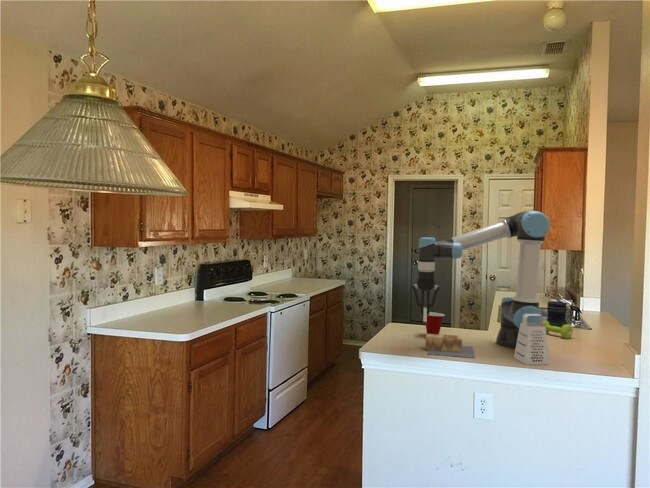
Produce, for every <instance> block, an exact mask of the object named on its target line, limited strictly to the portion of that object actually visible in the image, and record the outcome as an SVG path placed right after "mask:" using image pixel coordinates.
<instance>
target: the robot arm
mask: <svg viewBox="0 0 650 488" xmlns="http://www.w3.org/2000/svg"><path fill="white" fill-rule="evenodd" d="M550 227H551V225H550V219H549V218H548V216H547V215H546V214H544V213H543V212H540V211H538V210H530V211H529V210H528V211H520V212H518V213H515V214H513V215H510V216H509V217H508V216H507V217H506V218H502V219H501V220H500V222H497V223H493V224H491V225H488V226H484V227H481V228H478V229H475V230H472V231H469V232H465V233H462V234H460V235H456V236H453V237H449V238H446V239H442V240H439V241H437V240H436V238H435V237H428V236H427V237H425V236H424V237H419V239H418V253H417V255H418V258H417V259H418V261H417V270H418V272H417V280H416V283H415V284H413V285H411V289H412V290H413V292H414V296H415V300H416V305H417V306H418V307H420V314H421V315H423V319H422V321H423V323H425V322H427V315H429V312H430V308H433V307H434V306H435V302H436V298H437V295H438V292H439V291H440V288H441V287H440V286H439V285H437V283H436V281H435V274H436V273H435V270H436V267H435V266H436V259H453V260H454V259H460V258H461V257H462V255H463V251H465V250H469V249H471V248H475V247H478V246H481V245H485V244H487V243H491V242H494V241H497V240H501V239H504V238H506V239H511V238H514V237H516V241H517V242H518V243H519V253H518V254H519V256H518V264H517V265H518V267H517V276H516V277H517V278H516V290H515V296H513V297H512V296H511V297H509V296H507V297H506V296H505V297H502V299H501V303H500V305H501V306H500V308H501V309H500V327H499V330H498V332H497V333H498V334H497V335H496V338H495V339H496V341H495V343H496V344H497V345H500V346H501V347H502V346H503V347H509V348H514V349H516V344H517V338H518V333H519V328H520V323H523V315H524V314H539V315H541V316H542V317H543V315H542V313H541V310H540V300H539V299H538V298H537V289H538V280H539V279H538V277H539V268H540V267H539V265H540V256H541V255H540V253H541V245H542V244H543V243H545V239H546V235H547V233H548V232H549V230H550ZM418 288H419V290H420V291H421V293H420V294H421V295H420V297H421V299H420V297H419V292H418ZM433 289H434V293H433V296H432V299H431V291H432V290H433ZM425 292H426V306H425ZM420 300H421V301H420ZM430 301H431V303H430ZM527 323H538V324H539V316H528V317H527Z"/></svg>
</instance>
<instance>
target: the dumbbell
mask: <svg viewBox="0 0 650 488" xmlns="http://www.w3.org/2000/svg"><path fill="white" fill-rule="evenodd" d="M543 326H546V335H547V334H548V333H549V332H552V333H555V334H560V336H561V337H562V339H565V340H569V339H571V338H572V337H573V330H574V329H573V326H572V325H571V324H567V323H566V325H563V326H562V328H560V327H556V326H550V324H549V322H548V321H547V319H546V320H545V319H544V320H543Z"/></svg>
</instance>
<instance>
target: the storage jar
mask: <svg viewBox="0 0 650 488" xmlns="http://www.w3.org/2000/svg"><path fill="white" fill-rule="evenodd" d="M567 305H568V304H567V302H564V301H555V300H554V301H553V300H551V301H547V306H546V307H547V310H546V312H547V318H546V321H548V322H549V324H550V326H556V327H560V328H562V326H563V325H566V324H567V320H566V315H567Z"/></svg>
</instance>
